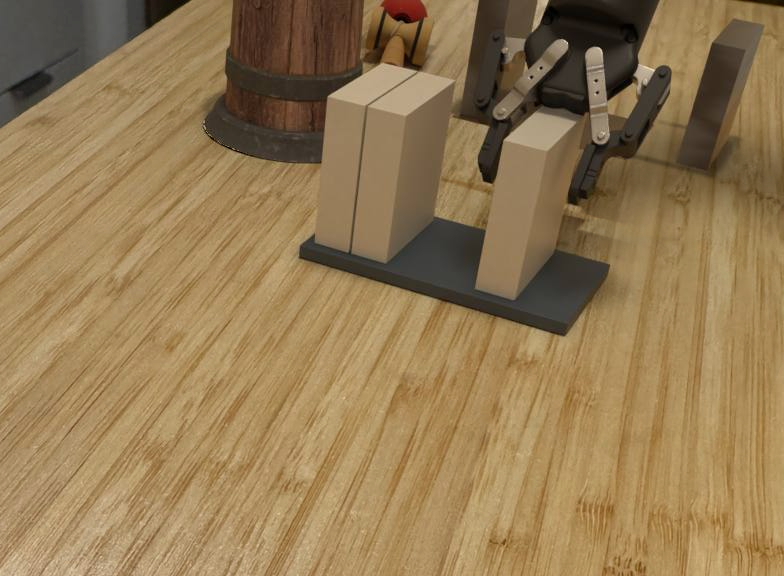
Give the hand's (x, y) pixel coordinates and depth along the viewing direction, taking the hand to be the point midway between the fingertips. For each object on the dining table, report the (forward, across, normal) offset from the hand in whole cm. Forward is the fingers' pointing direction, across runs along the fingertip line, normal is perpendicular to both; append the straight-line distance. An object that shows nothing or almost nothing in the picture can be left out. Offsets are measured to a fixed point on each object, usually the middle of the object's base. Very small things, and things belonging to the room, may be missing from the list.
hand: (529, 188), depth 83 cm
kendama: (-26, +29, -38) cm, 55 cm away
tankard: (-11, +30, -23) cm, 39 cm away
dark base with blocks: (+4, +5, -7) cm, 10 cm away
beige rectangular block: (+4, 0, -6) cm, 7 cm away
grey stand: (-21, +4, -32) cm, 39 cm away
